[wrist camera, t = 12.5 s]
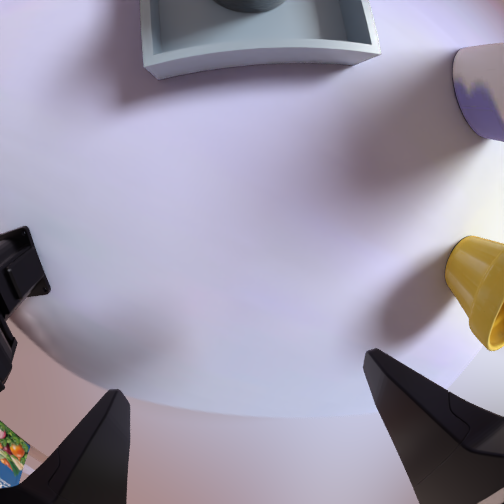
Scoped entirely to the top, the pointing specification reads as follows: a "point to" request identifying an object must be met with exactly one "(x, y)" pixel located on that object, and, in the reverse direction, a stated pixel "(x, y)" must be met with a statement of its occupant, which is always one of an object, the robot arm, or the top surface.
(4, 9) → the top surface
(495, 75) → the container
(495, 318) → the plant pot
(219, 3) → the metallic can
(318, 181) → the top surface
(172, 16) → the bin
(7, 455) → the blue food package
